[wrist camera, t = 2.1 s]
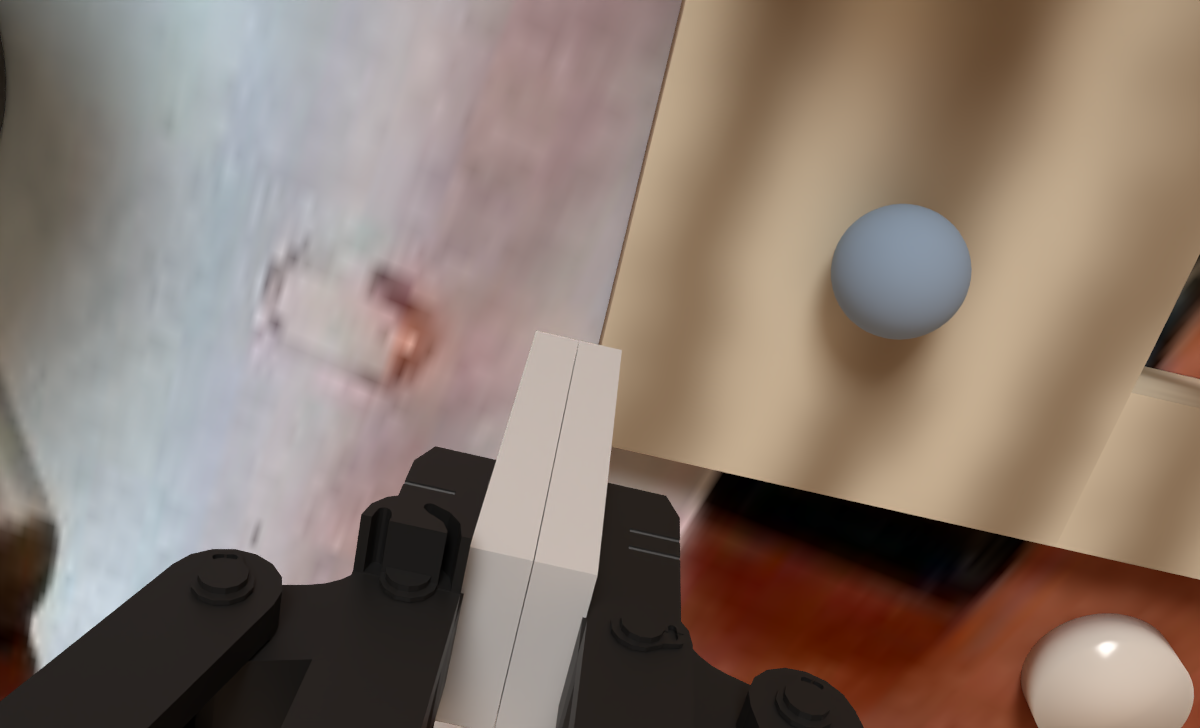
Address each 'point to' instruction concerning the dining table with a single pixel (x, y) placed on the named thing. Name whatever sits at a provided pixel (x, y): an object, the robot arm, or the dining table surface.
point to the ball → (901, 271)
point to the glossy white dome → (1106, 676)
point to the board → (993, 237)
